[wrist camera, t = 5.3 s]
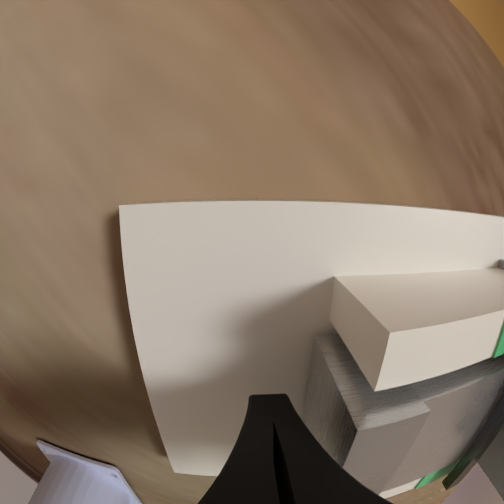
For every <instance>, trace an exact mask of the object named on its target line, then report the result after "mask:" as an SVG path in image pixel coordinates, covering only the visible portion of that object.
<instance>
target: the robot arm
mask: <svg viewBox="0 0 504 504" xmlns="http://www.w3.org/2000/svg"><path fill="white" fill-rule="evenodd" d="M36 444H37V445H38V447H39V448H40V449H41V451H42V452H43V454H44V455H45V456H46V458H47V459H48V460H49V462H50V465H49V466H48V468H47V470H46V472H45V473H44V475H43V477H42V479H41V481H40V482H39V484H38V486H37V488H36V490H35V492H34V494H33V495H32V497H31V499H30V501H29V503H28V504H142V503H141V501H140V500H139V499H138V497H137V496H136V495H135V493H134V492H133V490H132V489H131V488H130V486H129V485H128V483H127V482H126V480H125V479H124V477H123V476H122V474H121V473H120V471H119V470H118V469H117V468H116V467H114V466H112V465H108V464H105V463H101V462H98V461H94V460H91V459H88V458H85V457H82V456H79V455H76V454H73V453H71V452H68V451H65V450H63V449H60V448H58V447H55V446H53V445H50V444H48V443H46V442H44V441H41V440H37V442H36ZM198 504H393V503H391V502H389V501H387V500H386V499H384V498H382V497H381V496H379V495H378V494H376V493H375V492H373V491H372V490H370V489H369V488H367V487H366V486H364V485H363V484H361V483H360V482H359V481H358V480H356V479H355V478H354V477H353V476H351V475H350V474H349V473H348V472H347V471H346V470H345V469H343V468H342V467H341V466H340V465H339V464H338V463H337V462H336V461H335V460H334V459H333V458H332V457H331V456H330V455H329V454H328V453H327V451H326V450H325V449H324V448H323V447H322V446H321V445H320V443H319V442H318V441H317V440H316V439H315V437H314V436H313V435H312V433H311V432H310V431H309V429H308V428H307V427H306V425H305V424H304V422H303V421H302V419H301V418H300V416H299V415H298V413H297V412H296V410H295V408H294V406H293V405H292V403H291V401H290V399H289V397H288V395H286V394H285V393H282V394H256V395H251V396H249V399H248V408H247V412H246V416H245V419H244V423H243V426H242V428H241V431H240V433H239V436H238V439H237V441H236V443H235V445H234V447H233V449H232V451H231V453H230V455H229V457H228V459H227V461H226V463H225V465H224V467H223V468H222V470H221V472H220V473H219V475H218V477H217V478H216V480H215V481H214V483H213V484H212V486H211V487H210V488H209V490H208V491H207V492H206V494H205V495H204V496H203V498H202V499H201V500H200V501H199V503H198Z"/></svg>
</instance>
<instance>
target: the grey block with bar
mask: <svg viewBox="0 0 504 504" xmlns="http://www.w3.org/2000/svg"><path fill="white" fill-rule="evenodd" d="M302 421H303V422H304V424H305V425H306V427H307V428H308V429H309V431H310V432H311V433H312V435H313V436H314V437H315V439H316V440H317V441H318V442H319V443H320V445H321V446H322V447H323V448H324V449H325V450H326V451H327V453H328V454H329V455H330V456H331V457H332V458H333V459H334V460H335V461H336V462H337V463H338V464H339V465H340V466H341V467H342V468H343V469H345V470H346V471H347V472H348V473H349V474H350V475H351V476H353V477H354V478H355V479H356V480H358V481H359V482H360V483H361V484H363V485H364V486H366V487H367V488H369V489H370V490H372V491H373V492H375V493H376V494H378V495H379V494H380V493H381V492H384V491H387V490H390V489H393V488H396V487H399V486H402V485H404V484H407V483H410V482H412V481H415V480H417V479H420V478H422V477H424V476H427V475H429V474H431V473H433V472H436V471H438V470H440V469H442V468H444V467H446V466H448V465H450V464H452V463H454V462H456V461H458V460H460V461H459V462H458V463H457V465H456V466H455V467H454V468H453V470H452V471H451V472H450V473H449V474H448V476H447V477H446V478H445V479H444V480H443V481H442V483H443V485H444V487H445V488H446V490H447V489H449V488H451V487H453V486H455V485H456V484H458V483H459V482H460V481H461V480H462V479H463V478H464V477H465V475H466V474H467V473H468V472H469V471H470V470H471V468H472V467H473V466H474V465H475V464H476V462H477V461H478V460H479V459H480V457H481V456H482V455H483V454H484V452H485V451H486V450H487V448H488V447H489V446H490V444H491V443H492V441H493V440H494V439H495V437H496V436H497V434H498V433H499V431H500V430H501V428H502V427H503V425H504V354H502V355H500V356H497V357H495V358H494V357H490V358H487V359H485V360H482V361H480V362H477V363H475V364H472V365H469V366H466V367H464V368H461V369H458V370H455V371H452V372H449V373H446V374H443V375H439V376H436V377H433V378H429V379H426V380H422V381H419V382H415V383H411V384H407V385H403V386H399V387H394V388H390V389H385V390H380V391H375V392H374V390H373V389H372V387H371V385H370V384H369V382H368V380H367V379H366V377H365V375H364V374H363V372H362V371H361V369H360V367H359V366H358V364H357V362H356V361H355V359H354V358H353V356H352V354H351V353H350V351H349V350H348V348H347V346H346V345H345V343H344V342H343V340H342V338H341V337H340V335H339V334H338V333H337V334H324V335H314V339H313V348H312V356H311V365H310V372H309V380H308V387H307V394H306V400H305V407H304V413H303V419H302Z"/></svg>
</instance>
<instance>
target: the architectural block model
mask: <svg viewBox="0 0 504 504" xmlns="http://www.w3.org/2000/svg"><path fill="white" fill-rule="evenodd" d="M119 216H120V233H121V246H122V257H123V266H124V275H125V283H126V290H127V297H128V304H129V310H130V316H131V322H132V328H133V333H134V338H135V343H136V348H137V352H138V357H139V361H140V366H141V370H142V374H143V378H144V382H145V386H146V389H147V393H148V397H149V400H150V404H151V407H152V411H153V414H154V417H155V420H156V423H157V427H158V430H159V433H160V436H161V438H162V441H163V444H164V447H165V450H166V452H167V455H168V458H169V460H170V463H171V466H172V468H173V471H174V472H175V473H184V474H194V475H206V476H218V475H219V473H220V472H221V470H222V468H223V467H224V465H225V463H226V461H227V459H228V457H229V455H230V453H231V451H232V449H233V447H234V445H235V443H236V441H237V439H238V436H239V433H240V431H241V428H242V426H243V423H244V419H245V416H246V412H247V408H248V399H249V396H251V395H256V394H282V393H285V394H286V395H288V397H289V399H290V401H291V403H292V405H293V406H294V408H295V410H296V412H297V413H298V415H299V416H300V418H301V419H303V413H304V407H305V400H306V394H307V387H308V380H309V372H310V365H311V356H312V348H313V339H314V335H324V334H337V333H338V334H339V335H340V337H341V338H342V340H343V342H344V343H345V345H346V346H347V348H348V350H349V351H350V353H351V354H352V356H353V358H354V359H355V361H356V362H357V364H358V366H359V367H360V369H361V371H362V372H363V374H364V375H365V377H366V379H367V380H368V382H369V384H370V385H371V387H372V389H373V390H374V392H375V391H380V390H385V389H390V388H394V387H399V386H403V385H407V384H411V383H415V382H419V381H422V380H426V379H429V378H433V377H436V376H439V375H443V374H446V373H449V372H452V371H455V370H458V369H461V368H464V367H466V366H469V365H472V364H475V363H477V362H480V361H482V360H485V359H487V358H490V357H494V358H495V357H497V356H500V355H502V354H504V217H503V216H497V215H490V214H482V213H474V212H466V211H458V210H449V209H439V208H429V207H418V206H406V205H393V204H379V203H362V202H342V201H315V200H193V201H166V202H146V203H133V204H126V205H119ZM459 461H460V460H458V461H456V462H454V463H452V464H450V465H448V466H446V467H444V468H442V469H440V470H438V471H436V472H433V473H431V474H429V475H427V476H424V477H422V478H420V479H417V480H415V481H412V482H410V483H407V484H404V485H402V486H399V487H396V488H393V489H390V490H387V491H384V492H381V493H380V494H379V496H381V497H382V498H384V499H385V498H388V497H391V496H394V495H397V494H399V493H402V492H405V491H407V490H410V489H413V488H415V489H417V488H419V487H421V486H424V485H426V484H428V483H431V482H433V481H435V480H437V479H439V478H441V477H443V476H445V475H447V474H449V473H450V472H451V471H452V470H453V468H454V467H455V466H456V465H457V463H458V462H459ZM477 462H478V464H479V465H480V467H481V468H482V469H483V471H484V472H485V474H486V475H487V477H488V478H489V480H490V481H491V482H492V484H493V485H494V487H495V488H496V490H497V491H498V493H499V494H500V496H501V497H502V499H503V500H504V425H503V427H502V428H501V430H500V431H499V433H498V434H497V436H496V437H495V439H494V440H493V441H492V443H491V444H490V446H489V447H488V448H487V450H486V451H485V452H484V454H483V455H482V456H481V457H480V459H479V460H478V461H477Z"/></svg>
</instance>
